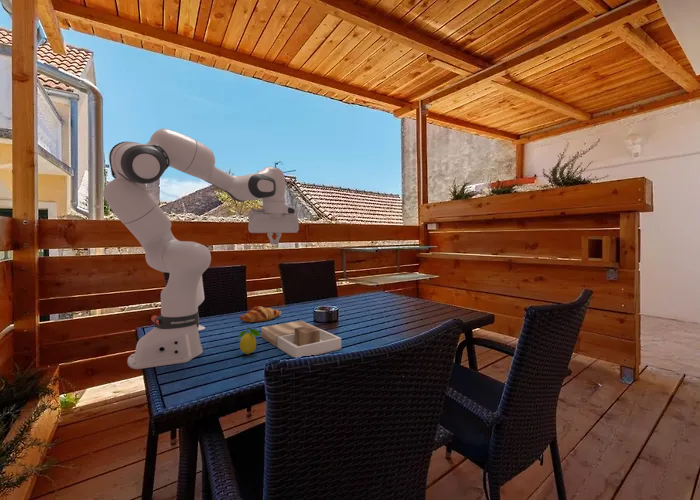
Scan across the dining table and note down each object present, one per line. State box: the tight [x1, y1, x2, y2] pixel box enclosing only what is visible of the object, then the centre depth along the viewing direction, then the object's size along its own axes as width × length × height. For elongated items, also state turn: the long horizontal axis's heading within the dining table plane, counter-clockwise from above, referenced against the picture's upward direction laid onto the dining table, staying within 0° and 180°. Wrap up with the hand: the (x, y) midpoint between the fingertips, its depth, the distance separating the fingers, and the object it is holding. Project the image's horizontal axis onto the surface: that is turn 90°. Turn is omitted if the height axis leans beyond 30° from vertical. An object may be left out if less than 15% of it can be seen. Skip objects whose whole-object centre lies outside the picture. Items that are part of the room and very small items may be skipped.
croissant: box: [239, 305, 282, 323], centre depth 167 cm, size 21×10×8 cm, turn 132°
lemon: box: [237, 325, 261, 356], centre depth 120 cm, size 7×6×10 cm
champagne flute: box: [197, 275, 206, 331], centre depth 151 cm, size 7×7×24 cm
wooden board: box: [260, 320, 319, 347], centre depth 139 cm, size 18×14×4 cm
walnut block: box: [295, 326, 320, 346], centre depth 128 cm, size 6×6×8 cm
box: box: [277, 328, 342, 358], centre depth 127 cm, size 18×15×4 cm
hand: (274, 244), depth 139 cm, fingers closed
